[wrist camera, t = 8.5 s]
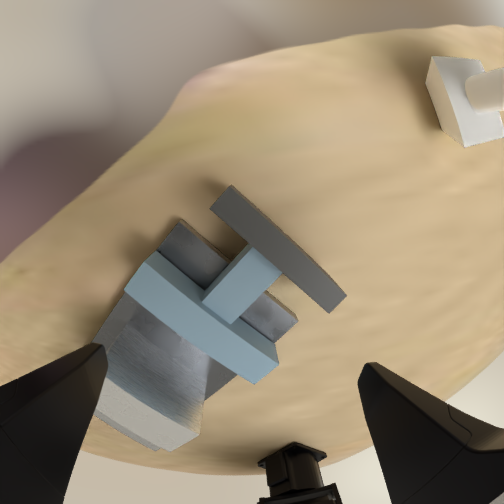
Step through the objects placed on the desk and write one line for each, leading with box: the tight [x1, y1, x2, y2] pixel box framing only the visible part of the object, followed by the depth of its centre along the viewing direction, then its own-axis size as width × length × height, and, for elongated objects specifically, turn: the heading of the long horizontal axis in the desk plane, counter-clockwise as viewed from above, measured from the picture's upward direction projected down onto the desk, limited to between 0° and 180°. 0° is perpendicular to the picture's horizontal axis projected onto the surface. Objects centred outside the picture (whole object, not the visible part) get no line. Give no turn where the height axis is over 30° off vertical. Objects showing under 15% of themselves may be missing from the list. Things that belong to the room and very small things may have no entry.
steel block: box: [96, 324, 207, 452], centre depth 17 cm, size 8×4×6 cm, turn 48°
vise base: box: [91, 219, 298, 451], centre depth 19 cm, size 11×20×4 cm, turn 138°
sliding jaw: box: [124, 185, 347, 384], centre depth 17 cm, size 11×9×4 cm
